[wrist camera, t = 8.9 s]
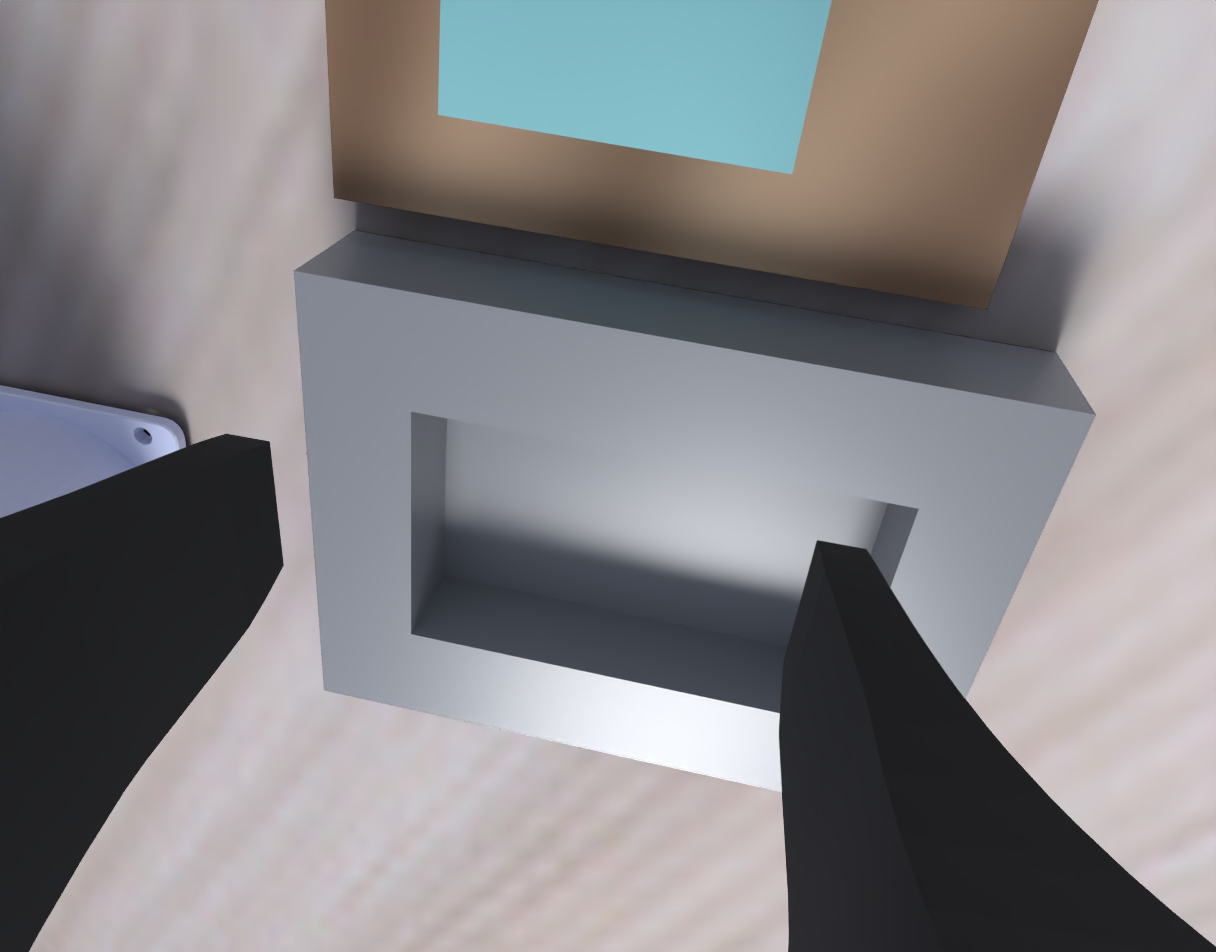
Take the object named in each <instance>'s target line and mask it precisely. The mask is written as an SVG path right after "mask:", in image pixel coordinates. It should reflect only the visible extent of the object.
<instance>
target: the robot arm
mask: <svg viewBox="0 0 1216 952" xmlns="http://www.w3.org/2000/svg"><path fill="white" fill-rule="evenodd" d="M143 428H144V429H146V430H147V431H148V432H149V433H150V434H151V437H150V436H148V435H147V434H146V433H145V432H144V430H143ZM283 566H284V565H283V556H282V547H281V538H280V529H279V521H278V512H277V503H276V494H275V485H274V476H273V467H272V458H271V449H270V442H269V441H263V440H258V439H252V438H247V437H241V436H236V435H230V434H224V435H221V436H217V437H214V438H210V439H207V440H204V441H201V442H199V443H196V444H193V445H190V446H188V447H186V442H185V437H184V434H183V431H182V429H181V428H180V427H179V426H178V424H176V423H175V422H174V421H172V420H170V419H167V418H164V417H159V416H154V415H149V414H144V413H139V412H134V411H129V410H124V409H119V408H114V407H109V406H104V405H98V404H93V403H88V402H83V401H78V400H73V399H68V398H63V397H58V396H53V395H48V394H43V393H38V392H33V391H27V390H22V389H17V388H12V387H7V386H2V385H0V952H29V950H30V948H31V947H32V945H33V943H34V941H35V939H36V937H37V935H38V934H39V932H40V930H41V928H42V927H43V925H44V923H45V922H46V920H47V918H48V916H49V915H50V913H51V911H52V910H53V908H54V906H55V904H56V903H57V901H58V899H59V898H60V896H61V894H62V892H63V891H64V889H65V887H66V886H67V884H68V882H69V880H70V879H71V877H72V875H73V874H74V872H75V870H76V868H77V867H78V865H79V863H80V862H81V860H82V858H83V857H84V855H85V853H86V852H87V850H88V849H89V847H90V845H91V844H92V842H93V841H94V839H95V837H96V836H97V834H98V833H99V831H100V829H101V828H102V826H103V824H104V823H105V821H106V820H107V818H108V816H109V815H110V813H111V812H112V810H113V808H114V807H115V805H116V804H117V802H118V800H119V799H120V797H121V796H122V794H123V792H124V791H125V789H126V788H127V787H128V785H129V784H130V782H131V781H132V780H133V778H134V777H135V775H136V774H137V772H138V771H139V770H140V768H141V767H142V765H143V764H144V763H145V761H146V760H147V758H148V757H149V756H150V755H151V753H152V752H153V751H154V750H155V748H156V747H157V746H158V744H159V743H160V742H161V741H162V739H163V738H164V737H165V735H166V734H167V733H168V732H169V730H170V729H171V728H172V726H173V725H174V724H175V723H176V721H177V720H178V719H179V717H180V716H181V715H182V714H183V712H184V711H185V710H186V708H187V707H188V706H189V705H190V703H191V702H192V701H193V699H194V698H195V697H196V696H197V694H198V693H199V692H200V691H201V689H202V688H203V687H204V685H205V684H206V683H207V682H208V680H209V679H210V678H211V676H212V675H213V674H214V673H215V671H216V670H217V669H218V667H219V666H220V665H221V663H222V662H223V661H224V659H225V658H226V657H227V656H228V654H229V653H230V652H231V650H232V649H233V648H234V646H235V645H236V644H237V642H238V641H239V640H240V638H241V637H242V636H243V634H244V633H245V632H246V630H247V629H248V628H249V626H250V624H251V623H252V621H253V619H254V618H255V616H256V614H257V613H258V611H259V609H260V607H261V606H262V604H263V602H264V601H265V599H266V597H267V595H268V593H269V592H270V590H271V588H272V586H273V584H274V582H275V580H276V579H277V577H278V575H279V573H280V571H281V569H282V567H283ZM779 749H780V767H781V785H782V802H783V819H784V835H785V852H786V869H787V885H788V913H789V946H788V952H1216V947H1215V946H1214V945H1213V944H1212V943H1210V942H1209V941H1208V940H1207V939H1206V938H1204V937H1203V936H1202V935H1201V934H1199V933H1198V932H1197V931H1196V930H1195V929H1193V928H1192V927H1191V926H1190V925H1188V924H1187V923H1186V922H1185V921H1184V920H1182V919H1181V918H1180V917H1179V916H1177V915H1176V914H1175V913H1174V912H1173V911H1171V910H1170V909H1169V908H1168V907H1167V906H1166V905H1164V904H1163V903H1162V902H1161V901H1160V900H1159V899H1158V898H1156V897H1155V896H1154V895H1153V894H1152V893H1151V892H1150V891H1148V890H1147V889H1146V888H1145V887H1144V886H1143V885H1142V884H1140V883H1139V882H1138V881H1137V880H1136V879H1135V878H1133V877H1132V876H1131V875H1130V874H1129V873H1128V872H1127V871H1126V870H1125V869H1124V868H1123V867H1122V866H1120V865H1119V864H1118V863H1117V862H1116V861H1115V860H1114V859H1113V858H1112V857H1111V856H1110V855H1109V854H1108V853H1107V852H1106V851H1105V850H1103V849H1102V848H1101V847H1100V846H1099V845H1098V844H1097V843H1096V842H1095V841H1094V840H1093V839H1092V838H1091V837H1090V836H1089V835H1088V834H1086V833H1085V832H1084V831H1083V830H1082V829H1081V828H1080V827H1079V826H1078V825H1077V824H1076V823H1075V822H1074V821H1073V820H1072V819H1071V818H1070V817H1069V816H1068V815H1067V814H1066V813H1065V812H1064V811H1063V810H1062V809H1061V808H1060V807H1059V806H1058V805H1057V804H1056V803H1055V802H1054V801H1053V800H1052V799H1051V798H1050V797H1049V796H1048V795H1047V794H1046V792H1045V791H1044V790H1043V789H1042V788H1041V787H1040V786H1039V785H1038V784H1037V783H1036V782H1035V780H1034V779H1033V778H1032V777H1031V776H1030V775H1029V774H1028V773H1027V772H1026V771H1025V770H1024V768H1023V767H1022V766H1021V765H1020V764H1019V763H1018V762H1017V761H1016V760H1015V759H1014V758H1013V756H1012V755H1011V754H1010V753H1009V752H1008V751H1007V750H1006V749H1005V747H1004V746H1003V745H1002V744H1001V743H1000V742H999V740H998V739H997V738H996V737H995V736H994V734H993V733H992V732H991V731H990V730H989V728H988V727H987V726H986V725H985V723H984V722H983V721H982V720H981V718H980V717H979V716H978V714H977V713H976V712H975V711H974V709H973V708H972V707H971V706H970V704H969V703H968V702H967V700H966V699H965V698H964V697H963V695H962V694H961V693H960V691H959V690H958V689H957V687H956V686H955V685H954V683H953V682H952V680H951V679H950V678H949V676H948V675H947V673H946V672H945V671H944V669H943V668H942V666H941V665H940V663H939V662H938V660H937V659H936V657H935V656H934V655H933V653H932V652H931V650H930V649H929V647H928V646H927V644H926V643H925V641H924V640H923V638H922V637H921V635H920V634H919V632H918V631H917V629H916V628H915V626H914V625H913V623H912V622H911V620H910V618H909V617H908V615H907V614H906V612H905V610H904V609H903V607H902V606H901V604H900V602H899V601H898V599H897V597H896V596H895V594H894V593H893V591H892V589H891V588H890V586H889V584H888V583H887V581H886V579H885V578H884V576H883V574H882V573H881V571H880V569H879V568H878V566H877V564H876V563H875V561H874V560H873V558H872V556H871V555H870V554H869V552H868V551H867V549H864V548H858V547H853V546H847V545H842V544H836V543H830V542H825V541H819V540H817V542H816V545H815V549H814V553H813V556H812V560H811V564H810V567H809V571H808V575H807V578H806V582H805V585H804V589H803V593H802V596H801V600H800V604H799V607H798V611H797V615H796V618H795V622H794V625H793V629H792V633H791V636H790V640H789V644H788V647H787V651H786V654H785V658H784V662H783V675H782V689H781V703H780V720H779Z"/></svg>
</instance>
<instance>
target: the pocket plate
mask: <svg viewBox="0 0 1216 952" xmlns="http://www.w3.org/2000/svg"><path fill="white" fill-rule="evenodd" d="M294 279H295V293H296V307H297V321H298V335H299V349H300V363H301V377H302V391H303V404H304V418H305V432H306V446H307V460H308V474H309V488H310V502H311V516H312V530H313V544H314V558H315V571H316V585H317V599H318V613H319V627H320V641H321V655H322V669H323V683H324V690H325V691H329V692H334V693H338V694H343V695H347V696H352V697H356V698H361V699H365V700H370V701H374V702H379V703H383V704H388V705H392V706H397V707H401V708H406V709H410V710H415V711H419V712H424V713H428V714H433V715H437V716H442V717H446V718H451V719H455V720H460V721H464V722H469V723H473V724H478V725H482V726H487V727H491V728H496V729H500V730H505V731H509V732H514V733H518V734H523V735H527V736H532V737H536V738H541V739H545V740H550V741H554V742H559V743H563V744H568V745H572V746H577V747H581V748H586V749H590V750H595V751H599V752H604V753H608V754H613V755H617V756H622V757H626V758H631V759H635V760H640V761H644V762H649V763H653V764H658V765H662V766H667V767H671V768H676V769H680V770H685V771H689V772H694V773H698V774H703V775H707V776H712V777H716V778H721V779H725V780H730V781H734V782H739V783H743V784H748V785H752V786H757V787H761V788H766V789H770V790H775V791H779V792H782V785H781V767H780V749H779V720H780V703H781V689H782V675H783V662H784V658H785V654H786V651H787V647H788V644H789V640H790V636H791V633H792V629H793V625H794V622H795V618H796V615H797V611H798V607H799V604H800V600H801V596H802V593H803V589H804V585H805V582H806V578H807V575H808V571H809V567H810V564H811V560H812V556H813V553H814V549H815V545H816V542H817V540H819V541H825V542H830V543H836V544H842V545H847V546H853V547H858V548H864V549H867V551H868V552H869V554H870V555H871V556H872V558H873V560H874V561H875V563H876V564H877V566H878V568H879V569H880V571H881V573H882V574H883V576H884V578H885V579H886V581H887V583H888V584H889V586H890V588H891V589H892V591H893V593H894V594H895V596H896V597H897V599H898V601H899V602H900V604H901V606H902V607H903V609H904V610H905V612H906V614H907V615H908V617H909V618H910V620H911V622H912V623H913V625H914V626H915V628H916V629H917V631H918V632H919V634H920V635H921V637H922V638H923V640H924V641H925V643H926V644H927V646H928V647H929V649H930V650H931V652H932V653H933V655H934V656H935V657H936V659H937V660H938V662H939V663H940V665H941V666H942V668H943V669H944V671H945V672H946V673H947V675H948V676H949V678H950V679H951V680H952V682H953V683H954V685H955V686H956V687H957V689H958V690H959V691H960V693H961V694H962V695H963V697H964V698H965V699H966V696H967V694H968V692H969V690H970V688H971V686H972V683H973V681H974V679H975V677H976V675H977V673H978V670H979V668H980V666H981V664H982V662H983V659H984V657H985V655H986V653H987V651H988V649H989V646H990V644H991V642H992V640H993V638H994V635H995V633H996V631H997V629H998V627H999V625H1000V622H1001V620H1002V618H1003V616H1004V614H1005V612H1006V609H1007V607H1008V605H1009V603H1010V601H1011V598H1012V596H1013V594H1014V592H1015V590H1016V588H1017V585H1018V583H1019V581H1020V579H1021V577H1022V575H1023V572H1024V570H1025V568H1026V566H1027V564H1028V561H1029V559H1030V557H1031V555H1032V553H1033V551H1034V548H1035V546H1036V544H1037V542H1038V540H1039V538H1040V535H1041V533H1042V531H1043V529H1044V527H1045V524H1046V522H1047V520H1048V518H1049V516H1050V514H1051V511H1052V509H1053V507H1054V505H1055V503H1056V501H1057V498H1058V496H1059V494H1060V492H1061V490H1062V487H1063V485H1064V483H1065V481H1066V479H1067V477H1068V474H1069V472H1070V470H1071V468H1072V466H1073V463H1074V461H1075V459H1076V457H1077V455H1078V453H1079V450H1080V448H1081V446H1082V444H1083V442H1084V440H1085V437H1086V435H1087V433H1088V431H1089V429H1090V426H1091V424H1092V422H1093V420H1094V418H1095V416H1096V414H1095V413H1094V411H1093V409H1092V408H1091V406H1090V405H1089V403H1088V402H1087V400H1086V398H1085V397H1084V395H1083V394H1082V392H1081V391H1080V389H1079V387H1078V386H1077V384H1076V383H1075V381H1074V380H1073V378H1072V376H1071V375H1070V373H1069V372H1068V370H1067V369H1066V367H1065V365H1064V364H1063V362H1062V361H1061V359H1060V358H1059V356H1058V354H1057V353H1054V352H1049V351H1043V350H1037V349H1031V348H1026V347H1020V346H1014V345H1008V344H1003V343H997V342H991V341H986V340H980V339H974V338H968V337H963V336H957V335H951V334H945V333H940V332H934V331H928V330H922V329H917V328H911V327H905V326H899V325H894V324H888V323H882V322H876V321H871V320H865V319H859V318H853V317H848V316H842V315H836V314H830V313H825V312H819V311H813V310H807V309H802V308H796V307H790V306H784V305H779V304H773V303H767V302H761V301H756V300H750V299H744V298H738V297H733V296H727V295H721V294H715V293H710V292H704V291H698V290H692V289H687V288H681V287H675V286H669V285H664V284H658V283H652V282H646V281H641V280H635V279H629V278H623V277H618V276H612V275H606V274H601V273H595V272H589V271H583V270H578V269H572V268H566V267H560V266H555V265H549V264H543V263H537V262H532V261H526V260H520V259H514V258H509V257H503V256H497V255H491V254H486V253H480V252H474V251H468V250H463V249H457V248H451V247H445V246H440V245H434V244H428V243H422V242H417V241H411V240H405V239H399V238H394V237H388V236H382V235H376V234H371V233H365V232H359V231H353V232H352V233H350V234H349V235H347V236H346V237H344V238H343V239H341V240H340V241H338V242H337V243H335V244H334V245H332V246H331V247H329V248H328V249H326V250H325V251H323V252H322V253H320V254H319V255H317V256H316V257H314V258H313V259H311V260H310V261H308V262H307V263H305V264H304V265H302V266H301V267H299V268H298V269H296V270H295V271H294Z"/></svg>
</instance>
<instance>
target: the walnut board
mask: <svg viewBox="0 0 1216 952" xmlns="http://www.w3.org/2000/svg"><path fill="white" fill-rule="evenodd" d="M1098 1H1099V0H832V1H831V6H830V10H829V15H828V19H827V23H826V28H825V32H824V37H823V41H822V45H821V50H820V54H819V59H818V63H817V67H816V72H815V76H814V81H813V85H812V89H811V94H810V98H809V103H808V107H807V111H806V116H805V120H804V125H803V129H802V133H801V138H800V142H799V147H798V151H797V155H796V160H795V164H794V169H793V173H792V174H786V173H780V172H775V171H769V170H763V169H757V168H751V167H745V166H739V165H733V164H727V163H721V162H715V161H709V160H703V159H697V158H691V157H686V156H680V155H674V154H668V153H662V152H656V151H650V150H644V149H638V148H632V147H626V146H620V145H614V144H608V143H602V142H596V141H591V140H585V139H579V138H573V137H567V136H561V135H555V134H549V133H543V132H537V131H531V130H525V129H519V128H513V127H507V126H501V125H496V124H490V123H484V122H478V121H472V120H466V119H460V118H454V117H448V116H442V115H438V92H439V45H440V0H325V11H326V33H327V55H328V77H329V99H330V121H331V143H332V165H333V188H334V198H337V199H343V200H348V201H354V202H360V203H366V204H372V205H378V206H384V207H389V208H395V209H401V210H407V211H413V212H419V213H425V214H430V215H436V216H442V217H448V218H454V219H460V220H465V221H471V222H477V223H483V224H489V225H495V226H501V227H506V228H512V229H518V230H524V231H530V232H536V233H541V234H547V235H553V236H559V237H565V238H571V239H577V240H582V241H588V242H594V243H600V244H606V245H612V246H617V247H623V248H629V249H635V250H641V251H647V252H653V253H658V254H664V255H670V256H676V257H682V258H688V259H693V260H699V261H705V262H711V263H717V264H723V265H729V266H734V267H740V268H746V269H752V270H758V271H764V272H770V273H775V274H781V275H787V276H793V277H799V278H805V279H810V280H816V281H822V282H828V283H834V284H840V285H846V286H851V287H857V288H863V289H869V290H875V291H881V292H886V293H892V294H898V295H904V296H910V297H916V298H922V299H927V300H933V301H939V302H945V303H951V304H957V305H962V306H968V307H974V308H980V309H986V310H987V308H988V306H989V303H990V300H991V297H992V295H993V292H994V289H995V286H996V283H997V281H998V278H999V275H1000V272H1001V270H1002V267H1003V264H1004V261H1005V258H1006V256H1007V253H1008V250H1009V247H1010V245H1011V242H1012V239H1013V236H1014V234H1015V231H1016V228H1017V225H1018V222H1019V220H1020V217H1021V214H1022V211H1023V209H1024V206H1025V203H1026V200H1027V198H1028V195H1029V192H1030V189H1031V186H1032V184H1033V181H1034V178H1035V175H1036V173H1037V170H1038V167H1039V164H1040V161H1041V159H1042V156H1043V153H1044V150H1045V148H1046V145H1047V142H1048V139H1049V137H1050V134H1051V131H1052V128H1053V125H1054V123H1055V120H1056V117H1057V114H1058V112H1059V109H1060V106H1061V103H1062V101H1063V98H1064V95H1065V92H1066V89H1067V87H1068V84H1069V81H1070V78H1071V76H1072V73H1073V70H1074V67H1075V64H1076V62H1077V59H1078V56H1079V53H1080V51H1081V48H1082V45H1083V42H1084V40H1085V37H1086V34H1087V31H1088V28H1089V26H1090V23H1091V20H1092V17H1093V15H1094V12H1095V9H1096V6H1097V4H1098Z"/></svg>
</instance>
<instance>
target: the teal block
mask: <svg viewBox="0 0 1216 952" xmlns="http://www.w3.org/2000/svg"><path fill="white" fill-rule="evenodd" d="M831 1H832V0H440V45H439V92H438V115H442V116H448V117H454V118H460V119H466V120H472V121H478V122H484V123H490V124H496V125H501V126H507V127H513V128H519V129H525V130H531V131H537V132H543V133H549V134H555V135H561V136H567V137H573V138H579V139H585V140H591V141H596V142H602V143H608V144H614V145H620V146H626V147H632V148H638V149H644V150H650V151H656V152H662V153H668V154H674V155H680V156H686V157H691V158H697V159H703V160H709V161H715V162H721V163H727V164H733V165H739V166H745V167H751V168H757V169H763V170H769V171H775V172H780V173H786V174H792V173H793V169H794V164H795V160H796V155H797V151H798V147H799V142H800V138H801V133H802V129H803V125H804V120H805V116H806V111H807V107H808V103H809V98H810V94H811V89H812V85H813V81H814V76H815V72H816V67H817V63H818V59H819V54H820V50H821V45H822V41H823V37H824V32H825V28H826V23H827V19H828V15H829V10H830V6H831Z"/></svg>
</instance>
